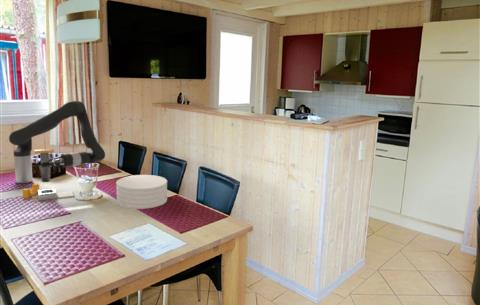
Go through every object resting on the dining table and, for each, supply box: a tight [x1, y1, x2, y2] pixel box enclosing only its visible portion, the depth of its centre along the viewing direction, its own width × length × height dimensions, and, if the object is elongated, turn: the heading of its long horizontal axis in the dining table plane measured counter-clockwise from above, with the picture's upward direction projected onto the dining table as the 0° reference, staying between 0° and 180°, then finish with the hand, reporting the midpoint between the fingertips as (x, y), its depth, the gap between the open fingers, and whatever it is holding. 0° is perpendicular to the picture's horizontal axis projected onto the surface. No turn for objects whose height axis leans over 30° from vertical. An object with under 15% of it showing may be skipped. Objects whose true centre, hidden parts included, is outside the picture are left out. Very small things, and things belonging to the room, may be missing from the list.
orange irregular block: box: [22, 183, 40, 199], centre depth 205 cm, size 12×4×6 cm, turn 2°
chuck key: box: [34, 148, 55, 183], centre depth 199 cm, size 4×9×18 cm, turn 122°
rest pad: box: [56, 191, 75, 199], centre depth 207 cm, size 8×8×1 cm
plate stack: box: [115, 174, 168, 210], centre depth 208 cm, size 28×28×12 cm
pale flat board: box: [31, 191, 76, 203], centre depth 204 cm, size 11×21×2 cm, turn 122°
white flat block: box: [37, 187, 58, 202], centre depth 202 cm, size 9×9×4 cm
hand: (39, 164), depth 196 cm, fingers closed on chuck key, 4 cm apart
